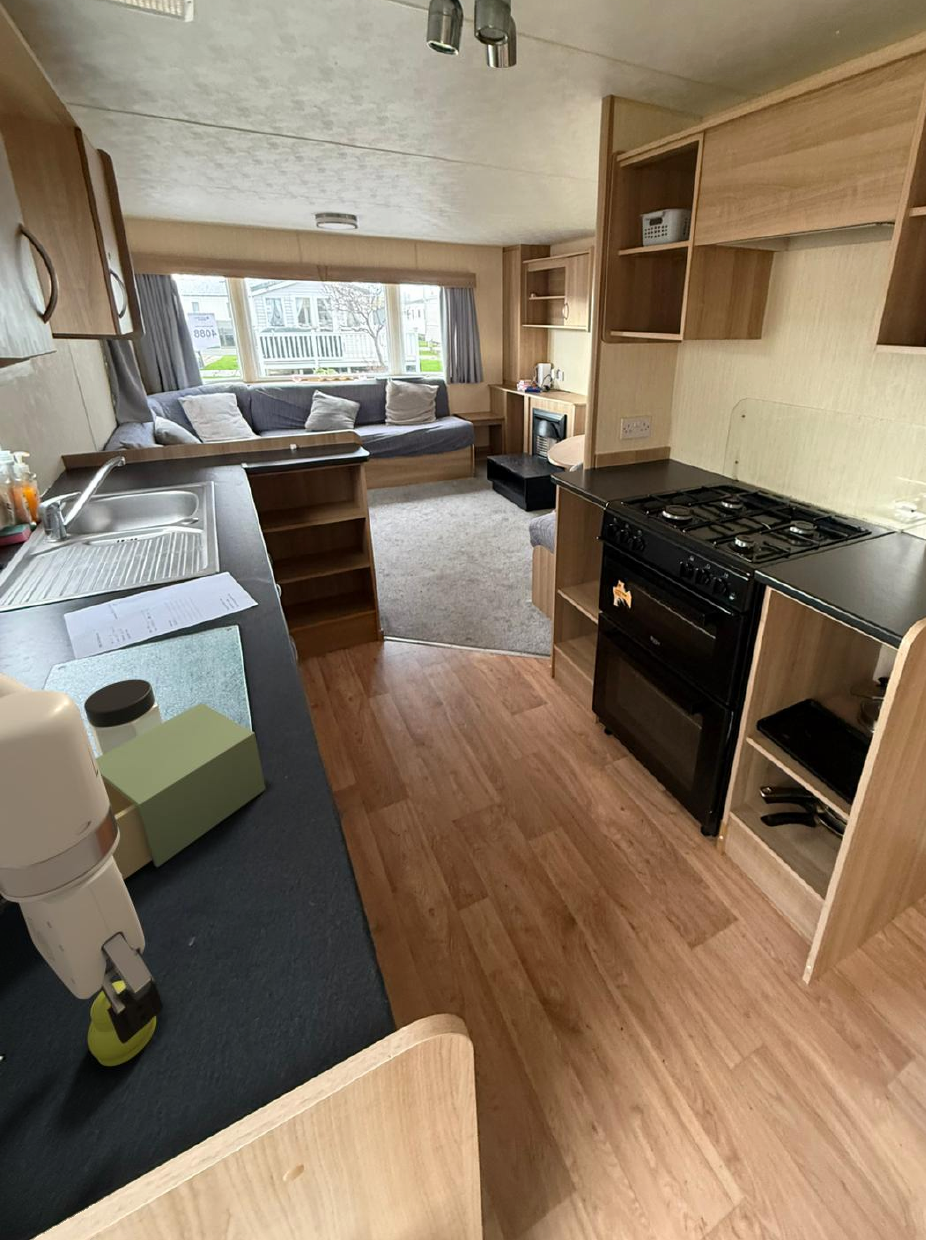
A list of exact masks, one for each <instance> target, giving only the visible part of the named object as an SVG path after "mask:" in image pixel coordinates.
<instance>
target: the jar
mask: <svg viewBox="0 0 926 1240" xmlns="http://www.w3.org/2000/svg"><path fill="white" fill-rule="evenodd" d="M152 686H153V685H152V684H151V683H150V682H149V681H147V680H145V679H139V678H138V679H137V678H135V679H125V680H120V681H117V682H113V683H110V684H108V685H106V686H103V687H101V688H100V689H98V690H96V691H94V692H93V693H91V694H90V695H89V696H88V697H87V698H86V700H85V702H84V705H83V707H84V711H85V715H86V720H87V723H88V726H89V729H90V730H89V731H90V732H91V736H92V739H93V742H94V745H95V749H96V752H97V755H98V757H100V756H102V755H104V754H106V753H108V752H109V751H111V750H113V749H115V748H117V747H119V746H121V745H123V744H124V743H126V742H128V741H130V740H132V739H134V738H136V737H138V736H139V735H141V734H143V733H145V732H147V731H149V730H151V729H153V728H155V727H156V726H158V725H160V724H162V723H164V722H163V719H162V714H161V711H160V707H159V704H158V702H156V701H157V700H156V698H155V694H154V690H153V687H152Z"/></svg>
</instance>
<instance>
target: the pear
mask: <svg viewBox="0 0 926 1240" xmlns="http://www.w3.org/2000/svg"><path fill="white" fill-rule="evenodd" d="M111 983H112V985H113V986H114V988H115V990H116V991H117V993H118V994H119V993H120V992H121V991H123V990H124V989H125V988H126V987H125V984H124V982H123V980H118V981H114V982H111ZM110 1006H111V1005H110V1003H109V1001H108V999H107V998H106V996H105V994H104V993H103V991H102V990H101V991H100V992H99V994H98V995H97V997H96V998H95V1000H94V1001H93V1003H92V1005H91V1009H90V1018H91V1021H90V1024H89V1027H88V1031H87V1045H88V1048H89V1051H90V1052H91V1054H92V1055H93V1056H94V1057H95V1058H96V1060H97V1061H98V1062H99V1064H101V1065H103V1066H106V1067H115V1066H119V1065H121V1064H123V1063H126V1062H128V1061H129V1060H131V1059H132V1058H134V1057H135V1056H137V1055H138V1054H139V1053H140V1052H141V1051H142V1050H143V1049H144V1048H145V1047H146V1045H147V1044H148V1043H149V1041H150V1040H151V1039H152V1036H153V1034H154V1032H155V1030H156V1026H157V1015H156V1016H155V1017H154V1018H152V1019H151V1021H150V1022H149V1023H148V1024H147V1025H146V1026H145V1027H143V1028H142V1029H141V1030H139V1031H138V1032H137V1033H136V1034H135V1035H134V1036H133V1037H132V1038H131V1039H130V1040H129V1041H127V1042H126V1043H124V1044H123V1043H121V1041H120V1040H119V1039H118V1036H117V1034H116V1031H115V1029H114V1026H113V1024H112V1021H111V1018H110V1016H109V1013H108V1011H107V1010H108V1009H109V1008H110Z"/></svg>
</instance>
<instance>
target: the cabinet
mask: <svg viewBox="0 0 926 1240" xmlns="http://www.w3.org/2000/svg"><path fill="white" fill-rule="evenodd" d="M95 758H96V761H97V764H98V768H99V771H100V774H101V777H102V779H103V780H104V781H106V782H107V783H108V784H109V785H111V786H112V787H113V788H114V789H116V790H117V791H118V792H119V793H121V794H122V795H123V796H124V797H125V798H127V799H128V800H129V801H130V802H132V803H133V804H134V805H135V806H137V808H138V812H139V815H140V818H141V822H142V825H143V829H144V832H145V835H146V839H147V842H148V846H149V849H150V852H151V856H152V862H153V865H154V866H155V867H156V868H159V867H160V866H161V865H163V864H164V863H165V862H167V861H168V860H170V859H172V858H173V857H174V856H175V855H177V854H179V852H181V851H182V850H183V849H185V848H186V847H188V846H189V845H191V844H193V842H194V841H196V840H197V839H199V838H201V837H203V835H204V834H206V833H207V832H209V831H210V830H212V829H213V828H214V827H215V826H217V825H218V824H220V823H221V822H223V821H224V820H226V819H227V818H228V817H230V816H231V815H232V814H234V813H235V812H236V811H238V810H239V809H240V808H242V807H243V806H244V805H246V804H247V803H249V802H250V801H251V800H253V799H255V798H256V797H257V796H258V795H260V794H261V793H262V792H264V791H266V784H265V780H264V774H263V769H262V763H261V759H260V758H261V757H260V753H259V748H258V743H257V738H256V733H255V732H254V731H252V730H250V729H249V728H247V727H245V726H243V725H242V724H240V723H238V722H236V721H235V720H233V719H231V718H229V717H228V716H226V715H225V714H222V713H221V712H219V711H217V710H216V709H214V708H212V707H210V706H208V705H207V704H205V703H203V702H200V703H198V704H195V705H193V706H192V707H190V708H188V709H187V710H184V711H183V712H181V713H178V714H177V715H175V716H174V717H171V718H169V719H168V720H166V721H164V722H163V723H162V724H160V725H158V726H156V727H155V728H153V729H151V730H149V731H147V732H145V733H143V734H141V735H139V736H138V737H136V738H134V739H132V740H130V741H128V742H126V743H124V744H123V745H121V746H119V747H117V748H115V749H113V750H111V751H109V752H108V753H106V754H104V755H102V756H100V757H99V756H98V757H95Z"/></svg>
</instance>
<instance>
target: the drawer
mask: <svg viewBox="0 0 926 1240" xmlns="http://www.w3.org/2000/svg"><path fill="white" fill-rule="evenodd" d="M102 780H103V779H102ZM103 783H104V786H105V789H106V793H107V796H108V799H109V801H110V804H111V807H112V810H113V813H114V816H115V819H116V822H117V825H118V829H119V832H120V839H119V843H118V845H117V847H116V849H115V851H114V853H113V854H112V855H113V858H114V860H115V862H116V864H117V867H118V869H119V871H120V873H121V874H122V878H123V881H125V879H127V878H128V877H130V876H132V875H133V874H135V872H137V871H138V870H140V869H141V868H142V867H144V866H146V865H147V864H148V863H150V862H151V861H153V859H152V856H151V852H150V849H149V846H148V842H147V839H146V835H145V832H144V829H143V825H142V822H141V818H140V815H139V812H138V808H137V806H135V805H134V804H133V803H132V802H130V801H129V800H128V799H127V798H125V797H124V796H123V795H122V794H121V793H119V792H118V791H117V790H116V789H114V788H113V787H112V786H111V785H109V784H108V783H107V782H106V781H104V780H103ZM11 904H13V902H12V901H9V900H7V899H5V898H4V897H3V899H1V900H0V916H1V915H2V914H3V913H4V912H5V908H6V907H8V906H9V905H11Z"/></svg>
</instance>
